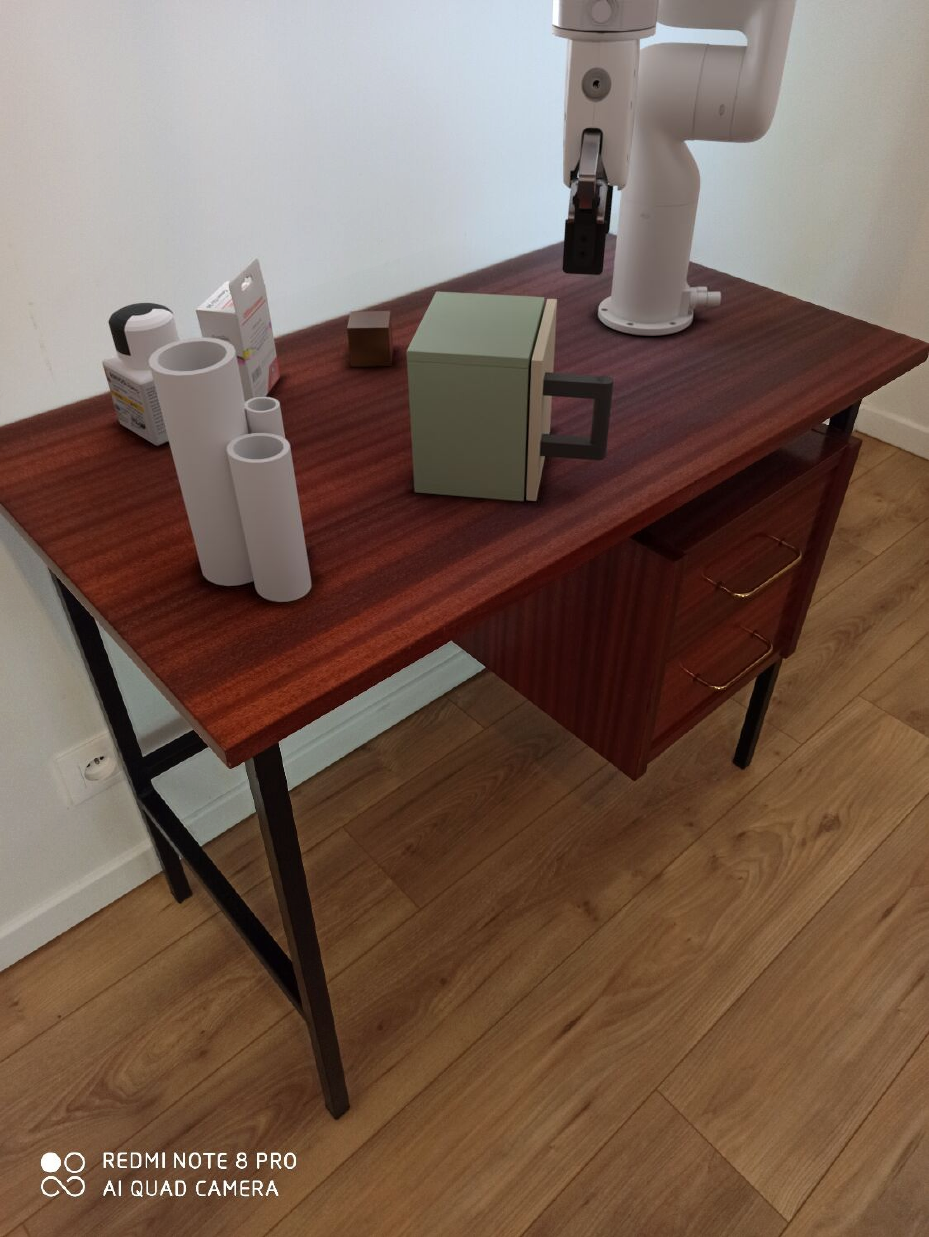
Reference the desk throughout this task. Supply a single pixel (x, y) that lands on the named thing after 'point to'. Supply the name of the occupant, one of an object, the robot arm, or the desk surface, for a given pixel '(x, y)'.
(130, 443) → the desk surface
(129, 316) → the container
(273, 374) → the ink cartridge box
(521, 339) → the cupboard
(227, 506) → the vase
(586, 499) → the desk surface
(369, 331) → the block
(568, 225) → the robot arm
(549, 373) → the cupboard door
